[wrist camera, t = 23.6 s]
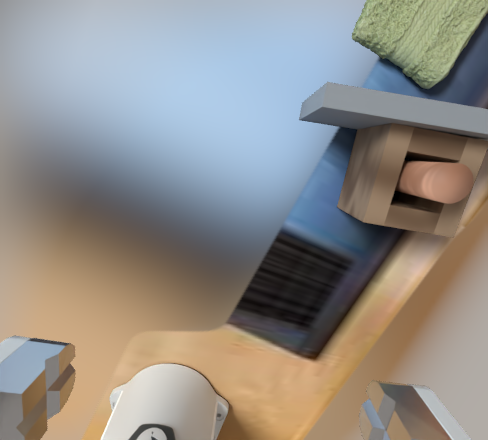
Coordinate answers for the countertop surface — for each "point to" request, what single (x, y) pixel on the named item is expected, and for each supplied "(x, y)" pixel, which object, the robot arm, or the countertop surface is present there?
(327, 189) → the countertop surface
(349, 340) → the countertop surface
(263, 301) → the countertop surface
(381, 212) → the block
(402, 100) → the wall
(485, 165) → the countertop surface
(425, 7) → the washcloth
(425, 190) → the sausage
